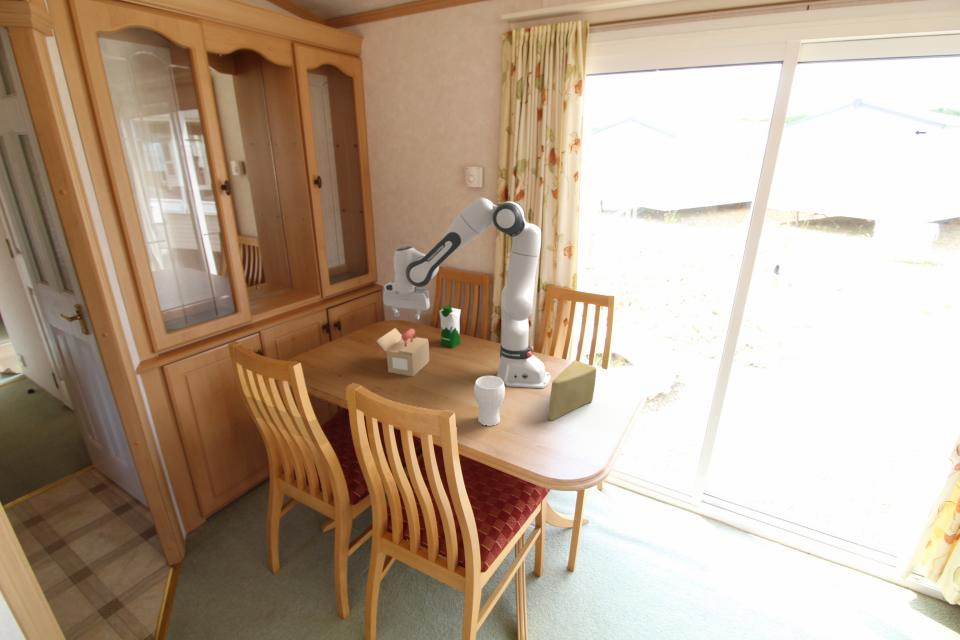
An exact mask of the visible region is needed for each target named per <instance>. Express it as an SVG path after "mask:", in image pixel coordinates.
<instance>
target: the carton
mask: <svg viewBox="0 0 960 640" xmlns="http://www.w3.org/2000/svg"><path fill="white" fill-rule="evenodd" d="M409 342H411V337H410V338H409V339H408V340H407V344H408V343H409ZM429 343H430V342H429V340H428V341H427V342H426V343H425V344H424V345H422V346H421V347H420V348H419V349H418V350H417V351H415V352H414V353H413V354H407V353H400V352H399V350H401V349H402V348H403V347H404V346H405V341H404V340H403V339H401V340H400V341H399V342H398V343H396V344H395V345H394V346H392V347H391V348H390V349H388V350H387V351H386V361H387V362H386V363H387V372H388V373H391V374H396V375H402V376H408V377H414V376H416V375H417V374H418V372H420V371H421V369H423V368H424V367H425V366H426V365H427V364H428V363H429V362H430V344H429Z"/></svg>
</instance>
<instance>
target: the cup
mask: <svg viewBox="0 0 960 640" xmlns="http://www.w3.org/2000/svg"><path fill="white" fill-rule="evenodd" d="M505 387H506V385H505V384H504V382H503V380H502V379H501V378H499V377H497V375H484V376H483V375H482V376H480V377H478V378H477V379H476V380H475V383H474V387H473V396H474V398H475V399H474V400H475V401H476V403H477V405H478V410H479V413H478V419H477V422H478V423H479V422H480V423H481V424H480V423H479V424H480V425H482V424H483V426H485V425H487V426H486V427H493V425H494V426H496V424H497V425H498V424H500V422H501V416H500V407H501V405H502V403H503V401H504V398H505V396H506V388H505Z"/></svg>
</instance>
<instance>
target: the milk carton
mask: <svg viewBox="0 0 960 640" xmlns="http://www.w3.org/2000/svg"><path fill="white" fill-rule="evenodd" d="M461 311H462V309H460V308H454V307H452V306H450V305H445V306H443V307H442V309H440V310H439V311H438V313H439V317H440V346H443V347H446V348H449V349H450V348H451V349H454V348H456V347H457V346H459V345H461V336H460V333H461V331H460V329H461V327H460V326H461V325H460V317H461Z"/></svg>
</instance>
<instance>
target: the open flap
mask: <svg viewBox="0 0 960 640" xmlns="http://www.w3.org/2000/svg"><path fill="white" fill-rule="evenodd" d="M402 335H403V334H402V333H400V331H399V330H398V329H397V328H396V327H394V328H393V329H391V330H390V331H388V332H387V333H386V334H384V335H383V336H381V337H379V338H378V339H377V340H376V341H375V342H376V343H377V344H378V345H379V347H381V348H382V350H383V351H384V352H385V353H387V350H389V349H390V348H391V347H393V346H394V345H395V344H396V343H398V342H399V341H400V340H402V338H401V336H402Z"/></svg>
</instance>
